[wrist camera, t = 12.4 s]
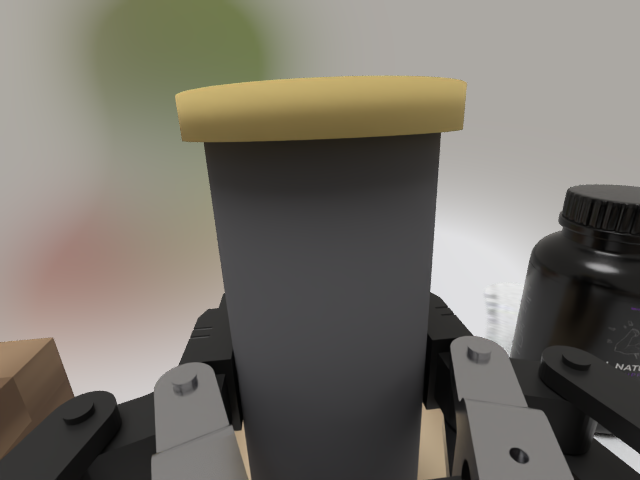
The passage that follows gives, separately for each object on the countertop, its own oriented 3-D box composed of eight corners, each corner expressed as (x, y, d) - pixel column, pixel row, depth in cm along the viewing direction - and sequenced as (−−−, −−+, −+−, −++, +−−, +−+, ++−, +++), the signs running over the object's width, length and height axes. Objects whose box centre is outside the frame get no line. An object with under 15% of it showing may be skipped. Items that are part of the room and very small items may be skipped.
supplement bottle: (603, 463, 16) (684, 222, 12) (483, 373, 22) (511, 189, 18) (674, 409, 19) (761, 196, 15) (551, 342, 25) (589, 175, 21)
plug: (222, 545, 12) (136, 103, 8) (339, 448, 16) (329, 104, 11) (332, 754, 8) (290, 64, 4) (457, 559, 12) (520, 84, 7)
